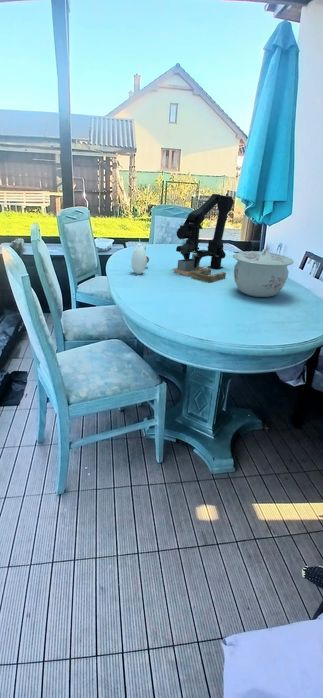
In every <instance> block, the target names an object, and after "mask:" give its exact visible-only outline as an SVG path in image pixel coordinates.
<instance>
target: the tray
mask: <svg viewBox="0 0 323 698" xmlns="http://www.w3.org/2000/svg"><path fill="white" fill-rule="evenodd" d="M204 269H208V268H207V267H204V266H200V265H199V269H198V270H191V271H182V270H178V269H177V267H175V268H173V274H177V273H178V275H181V274H182V276H185V277H191V276H192V272H196V271H200V270H204Z"/></svg>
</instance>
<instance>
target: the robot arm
mask: <svg viewBox="0 0 323 698" xmlns="http://www.w3.org/2000/svg"><path fill="white" fill-rule="evenodd" d="M234 203H235V202H234V198H233V197H232V196H229V195H223V194H222V195H221V194H219V193H212V194H211V195H210V197H209V198H208V199H207V200H206V201H205V202H204V203H203V204H202V205H201V206H200V207H198V208H197V209H195V210H192V211H191V212H189V213H188V215H187V218H186V219H185V221H184V222H183V224H181V225H180V226H179V227H178V229H177V230H176V236H177V238H178V239H179V240H185V243H183V244H181V245H177V246H176V247H175V251H176V252H178V253H180V254H181V255H182V256H183V258H184V259H191V258H190V257H191V254H193V253H195V254H196V256H194V258H195V264H194V268H196V267H197V265H198V263H199V262H201V260H202V258H205V257H210V264H209V266H207V267H208V268H209V269H215V270H218V269H219V270H220V269H223V268H224V266H222V259H225V258H226V255H227V254H226V252H225V251H224V243H223V238H224V237H223V236H224V233H225V226H226V222H227V219H228V214H229V212H230V211H231V210H232V208H233V205H234ZM215 206H216V207H217V211H218V213H217V218H216V223H215V227H214V228H215V229H214V234H213V237H212V239H211V240H208V244H207V249H200V247H199V243H200V242H201V240H200V239H199V238H200V230H203V227H202V225H201V224H202V223H203V222H204V221H205V220H206V219H205V218H206V215H207V214H208V213H209V212H211V210H212V209H213V208H215Z"/></svg>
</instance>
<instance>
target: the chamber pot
mask: <svg viewBox="0 0 323 698" xmlns="http://www.w3.org/2000/svg"><path fill="white" fill-rule="evenodd" d="M232 258H233V259H235V260H236V261H237V262H236V263H235V264H234V267H233V275H234V283H235V285H236V287H237V289H238V290H239V292H241V293H243V294H244V295H248V296H249V297H254V298H269V297H274V296H275V295H277V294H278V293H279V292H280V291H281V290H282V289H283V288H284V286H285V284H286V282H287V279H288V277H289V269H288V266H291V265H293V264H294V263H295V261H294V260H293V259H292V258H290V257H288V256H285V255H281V254H278V253H274V252H268V251H267V249H266V248H263V249H262V251H259V250H258V251H257V250H256V251H255V250H253V251H252V250H251V251H250V250H249V251H240V252H235V253H233V255H232Z"/></svg>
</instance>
